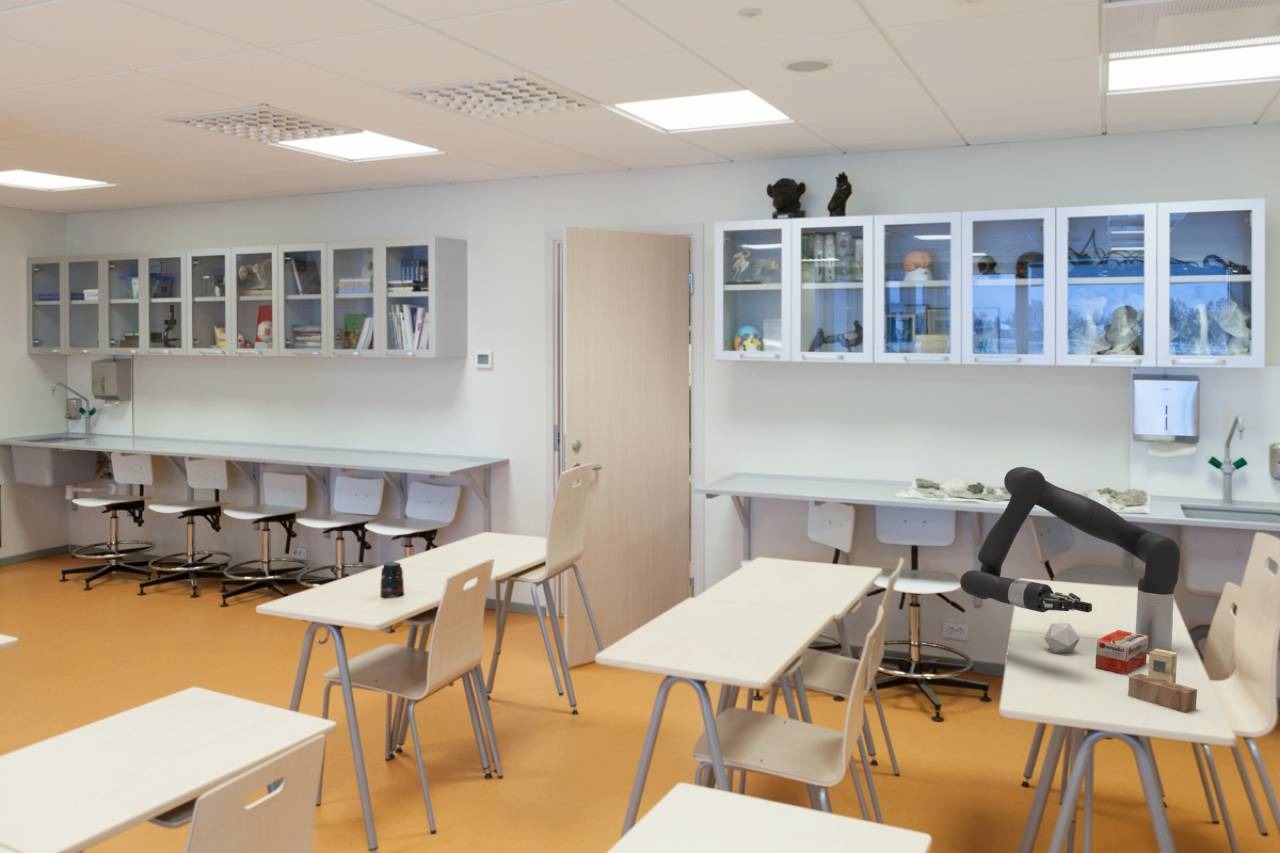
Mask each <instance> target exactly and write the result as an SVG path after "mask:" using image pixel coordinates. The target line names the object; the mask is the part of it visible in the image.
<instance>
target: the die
mask: <svg viewBox="0 0 1280 853" xmlns="http://www.w3.org/2000/svg"><path fill="white" fill-rule="evenodd" d="M1080 639H1081V636H1080V635H1079V634H1078V633H1077V631H1076V630H1075V629H1074V628H1073V626H1072V625H1071V624H1070V623H1060V622H1059V623H1055V622H1054V623H1053V622H1052V623H1050V626H1049V627H1048V630H1047V632H1046V634H1045V636H1044V638H1043V640H1044V641H1045V642H1046V644H1047V645H1048V646H1049V648H1050V649H1051V651H1052V652H1053V653H1054V654H1073V653H1074V651H1075V648H1076V647H1077V645H1078V644H1079V641H1080Z"/></svg>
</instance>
